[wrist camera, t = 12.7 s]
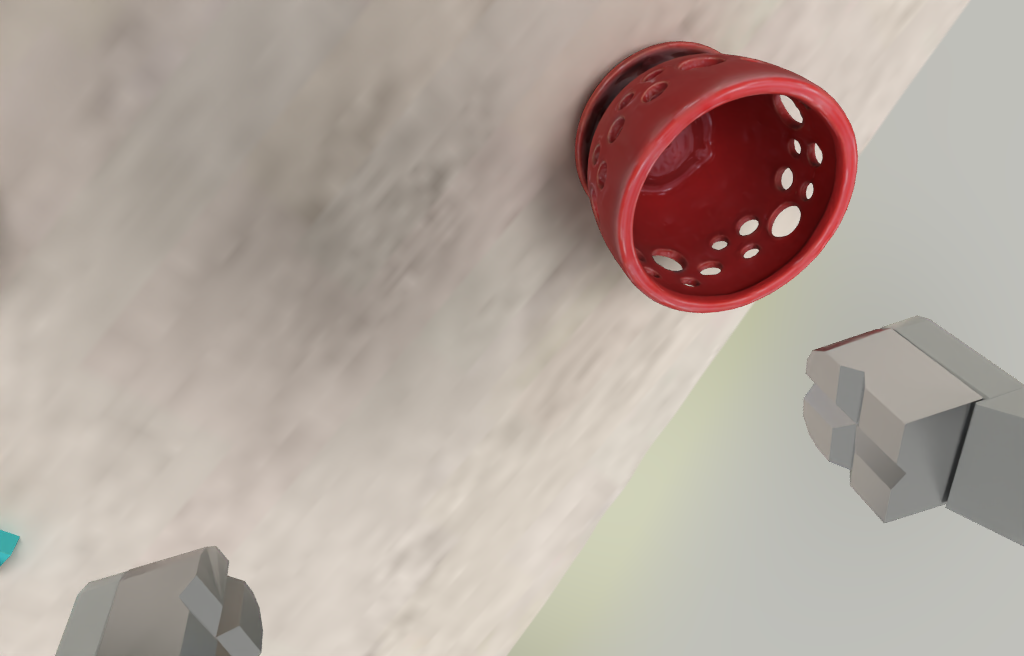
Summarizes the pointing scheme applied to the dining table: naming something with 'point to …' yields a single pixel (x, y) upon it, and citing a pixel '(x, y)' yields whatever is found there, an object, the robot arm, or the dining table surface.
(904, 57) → the dining table surface
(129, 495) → the dining table surface
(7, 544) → the chart
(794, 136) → the plant pot
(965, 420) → the robot arm
